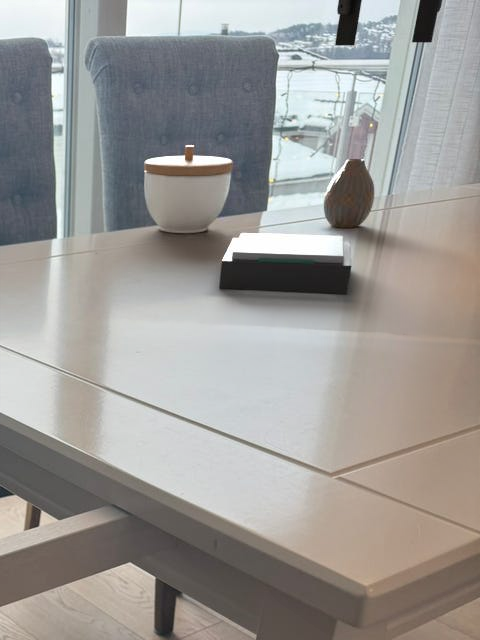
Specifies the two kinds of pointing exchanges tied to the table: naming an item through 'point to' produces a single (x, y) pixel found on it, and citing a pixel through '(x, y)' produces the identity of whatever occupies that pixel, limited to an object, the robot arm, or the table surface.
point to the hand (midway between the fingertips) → (383, 44)
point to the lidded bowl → (186, 190)
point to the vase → (349, 195)
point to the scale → (287, 263)
